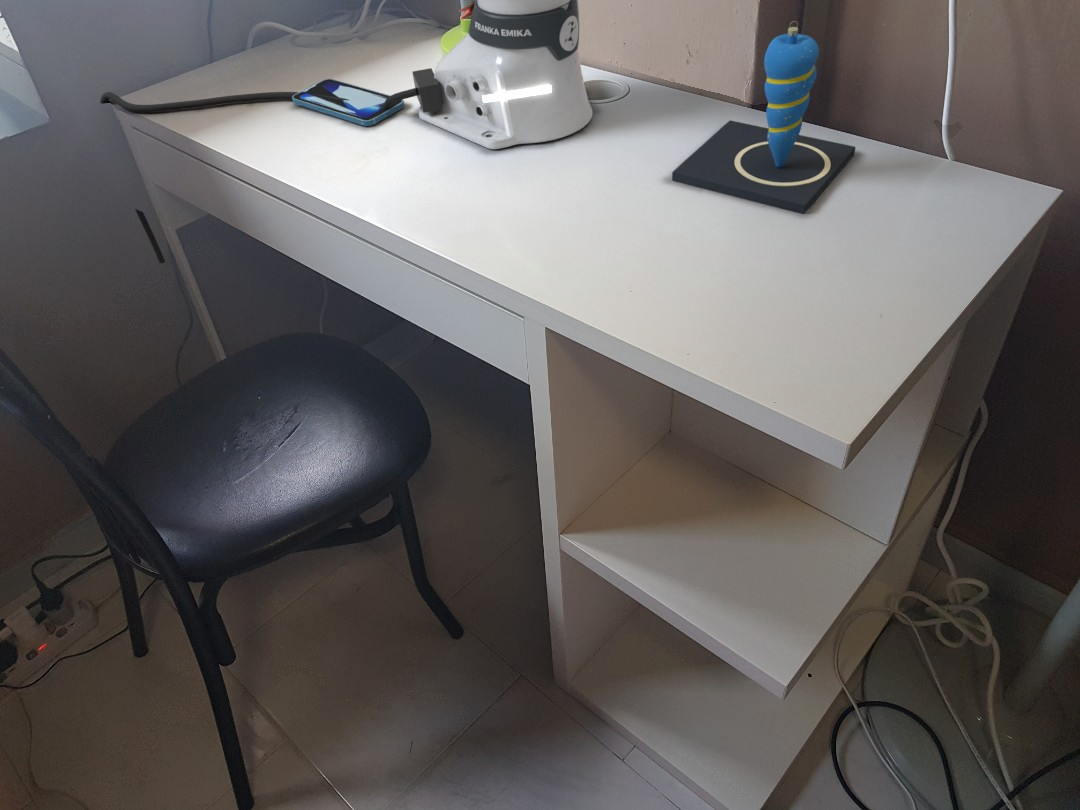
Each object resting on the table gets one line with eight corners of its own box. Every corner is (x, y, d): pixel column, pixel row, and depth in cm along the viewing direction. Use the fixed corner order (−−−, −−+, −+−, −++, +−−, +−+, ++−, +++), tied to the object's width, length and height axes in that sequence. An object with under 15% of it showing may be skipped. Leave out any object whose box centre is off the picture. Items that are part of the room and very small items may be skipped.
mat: (671, 180, 91) (672, 170, 91) (729, 128, 99) (729, 118, 98) (804, 214, 84) (805, 203, 84) (854, 155, 92) (856, 145, 92)
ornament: (807, 177, 87) (831, 29, 77) (757, 180, 88) (774, 33, 77) (796, 154, 91) (817, 9, 81) (748, 157, 91) (763, 13, 81)
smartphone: (367, 122, 106) (288, 97, 113) (369, 129, 107) (290, 104, 113) (407, 100, 110) (328, 77, 117) (408, 107, 111) (329, 84, 117)
